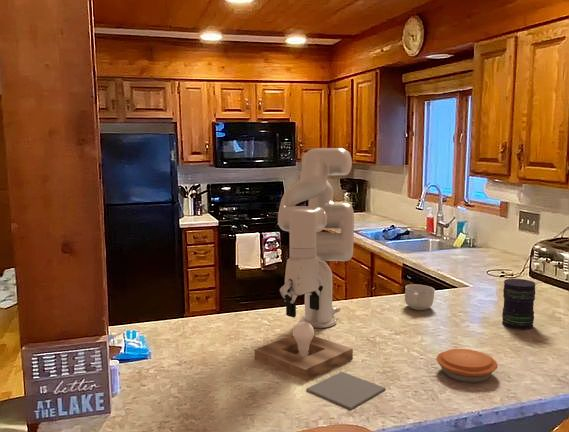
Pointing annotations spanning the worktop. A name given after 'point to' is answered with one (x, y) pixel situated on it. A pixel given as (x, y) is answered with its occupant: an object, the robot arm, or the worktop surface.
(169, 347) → the worktop surface
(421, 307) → the teacup
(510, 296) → the storage jar
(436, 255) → the worktop surface
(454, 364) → the pie
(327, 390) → the mat
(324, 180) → the robot arm
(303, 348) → the lightbulb
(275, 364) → the holder
